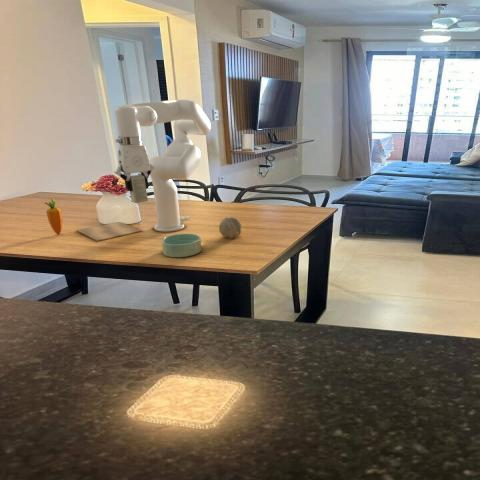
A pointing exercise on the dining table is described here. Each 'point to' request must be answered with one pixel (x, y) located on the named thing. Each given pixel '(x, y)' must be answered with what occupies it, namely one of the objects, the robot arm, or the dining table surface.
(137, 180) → the grey rectangular block
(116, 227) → the mat
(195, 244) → the bowl
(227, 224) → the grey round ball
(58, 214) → the carrot
